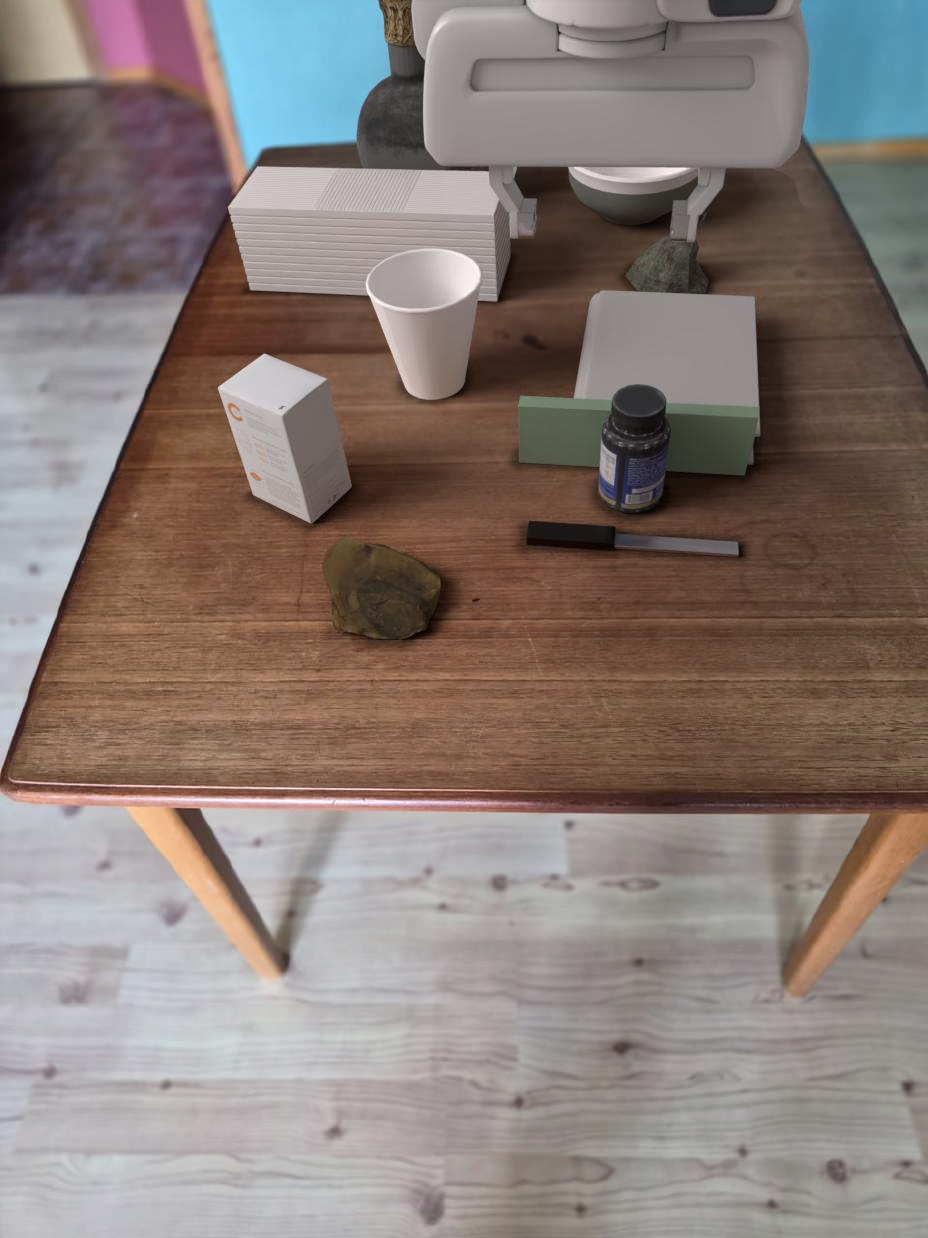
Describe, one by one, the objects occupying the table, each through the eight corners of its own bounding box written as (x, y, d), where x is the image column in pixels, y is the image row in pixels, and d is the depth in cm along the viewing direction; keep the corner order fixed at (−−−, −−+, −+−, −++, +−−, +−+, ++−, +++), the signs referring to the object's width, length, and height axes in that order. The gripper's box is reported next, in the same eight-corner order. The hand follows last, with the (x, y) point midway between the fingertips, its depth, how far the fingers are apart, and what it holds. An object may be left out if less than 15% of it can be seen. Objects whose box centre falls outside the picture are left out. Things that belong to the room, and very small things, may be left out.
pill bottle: (669, 481, 86) (684, 386, 77) (651, 523, 83) (664, 428, 74) (609, 466, 88) (617, 372, 79) (588, 506, 84) (594, 412, 76)
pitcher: (382, 187, 129) (349, -66, 106) (510, 195, 125) (504, -66, 102) (358, 224, 122) (317, -37, 99) (492, 233, 118) (482, -36, 95)
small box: (353, 487, 88) (330, 377, 78) (311, 526, 85) (281, 416, 75) (293, 459, 92) (263, 350, 81) (251, 495, 88) (214, 387, 78)
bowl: (711, 240, 114) (722, 175, 108) (565, 248, 115) (567, 183, 109) (690, 173, 126) (698, 111, 119) (558, 181, 127) (559, 120, 120)
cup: (509, 375, 98) (507, 271, 89) (435, 428, 93) (424, 324, 84) (433, 337, 104) (423, 235, 94) (359, 386, 99) (340, 283, 89)
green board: (744, 464, 87) (758, 406, 81) (744, 475, 86) (758, 417, 80) (521, 452, 90) (520, 395, 85) (519, 462, 89) (518, 405, 84)
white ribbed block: (510, 256, 114) (508, 171, 106) (497, 301, 108) (493, 214, 100) (276, 247, 120) (257, 165, 111) (250, 290, 113) (227, 206, 105)
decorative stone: (451, 568, 81) (448, 541, 78) (425, 648, 75) (422, 622, 72) (342, 554, 83) (335, 527, 80) (309, 631, 77) (301, 605, 74)
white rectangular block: (754, 296, 98) (760, 433, 84) (748, 326, 101) (752, 464, 87) (590, 289, 101) (567, 421, 87) (588, 319, 104) (566, 451, 90)
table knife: (737, 542, 80) (739, 534, 80) (738, 559, 79) (740, 552, 78) (529, 527, 83) (529, 520, 82) (526, 544, 82) (526, 537, 81)
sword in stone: (621, 295, 107) (629, 196, 98) (629, 261, 112) (637, 164, 103) (705, 302, 105) (722, 201, 96) (710, 267, 110) (726, 168, 101)
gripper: (393, -16, 42) (422, 258, 53) (843, -28, 39) (778, 267, 50) (418, -56, 46) (441, 207, 57) (830, -70, 43) (772, 212, 54)
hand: (601, 235), depth 53 cm, fingers open, 8 cm apart
